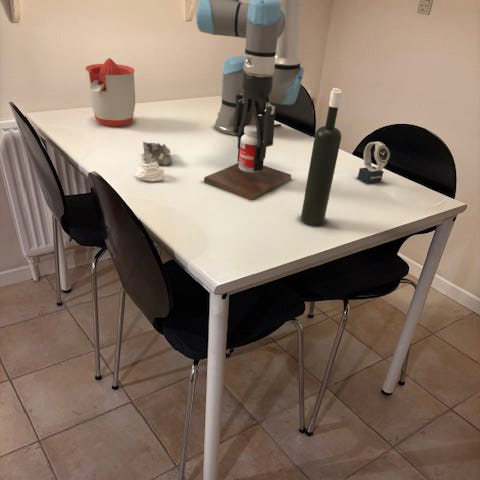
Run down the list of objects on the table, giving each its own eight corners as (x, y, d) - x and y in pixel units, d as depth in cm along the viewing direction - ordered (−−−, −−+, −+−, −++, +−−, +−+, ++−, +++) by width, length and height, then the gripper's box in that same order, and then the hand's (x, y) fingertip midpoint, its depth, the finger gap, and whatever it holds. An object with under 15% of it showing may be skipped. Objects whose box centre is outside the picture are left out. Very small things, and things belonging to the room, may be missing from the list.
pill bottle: (233, 168, 132) (236, 126, 125) (247, 163, 136) (251, 122, 129) (251, 174, 129) (255, 132, 122) (265, 169, 133) (269, 128, 126)
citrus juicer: (78, 124, 162) (70, 58, 149) (108, 113, 175) (103, 51, 162) (118, 133, 158) (112, 66, 145) (145, 121, 170) (143, 58, 158)
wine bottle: (311, 213, 121) (335, 84, 102) (328, 222, 118) (356, 90, 99) (295, 218, 118) (317, 86, 99) (313, 228, 114) (338, 93, 96)
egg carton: (171, 166, 139) (171, 152, 136) (145, 166, 137) (144, 152, 135) (167, 153, 147) (167, 139, 144) (142, 153, 145) (142, 139, 143)
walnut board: (245, 164, 144) (246, 159, 143) (290, 179, 138) (291, 174, 137) (203, 182, 131) (204, 177, 130) (251, 200, 124) (252, 194, 123)
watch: (371, 186, 138) (380, 148, 131) (353, 176, 144) (362, 139, 137) (385, 184, 141) (396, 146, 134) (367, 174, 146) (376, 137, 139)
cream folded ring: (138, 186, 128) (136, 169, 124) (132, 174, 132) (130, 158, 129) (167, 182, 130) (166, 165, 127) (160, 170, 134) (159, 154, 131)
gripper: (222, 66, 121) (218, 157, 135) (273, 83, 110) (262, 180, 124) (245, 64, 125) (238, 153, 139) (296, 81, 114) (283, 175, 128)
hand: (249, 165), depth 132 cm, fingers closed on pill bottle, 6 cm apart
